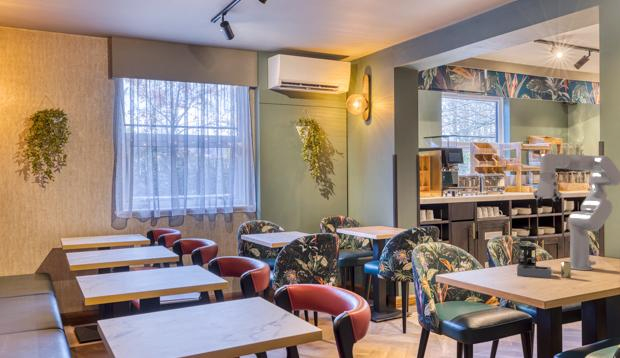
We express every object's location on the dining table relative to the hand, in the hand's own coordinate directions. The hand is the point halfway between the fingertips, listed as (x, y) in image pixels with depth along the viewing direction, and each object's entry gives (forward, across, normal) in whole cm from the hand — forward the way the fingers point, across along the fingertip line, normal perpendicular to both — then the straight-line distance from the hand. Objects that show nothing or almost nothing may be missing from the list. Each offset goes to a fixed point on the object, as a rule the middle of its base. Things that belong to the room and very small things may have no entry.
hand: (546, 208), depth 278 cm
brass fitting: (+34, -16, +4) cm, 38 cm away
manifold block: (+34, -4, +13) cm, 37 cm away
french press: (+34, +11, +1) cm, 36 cm away
